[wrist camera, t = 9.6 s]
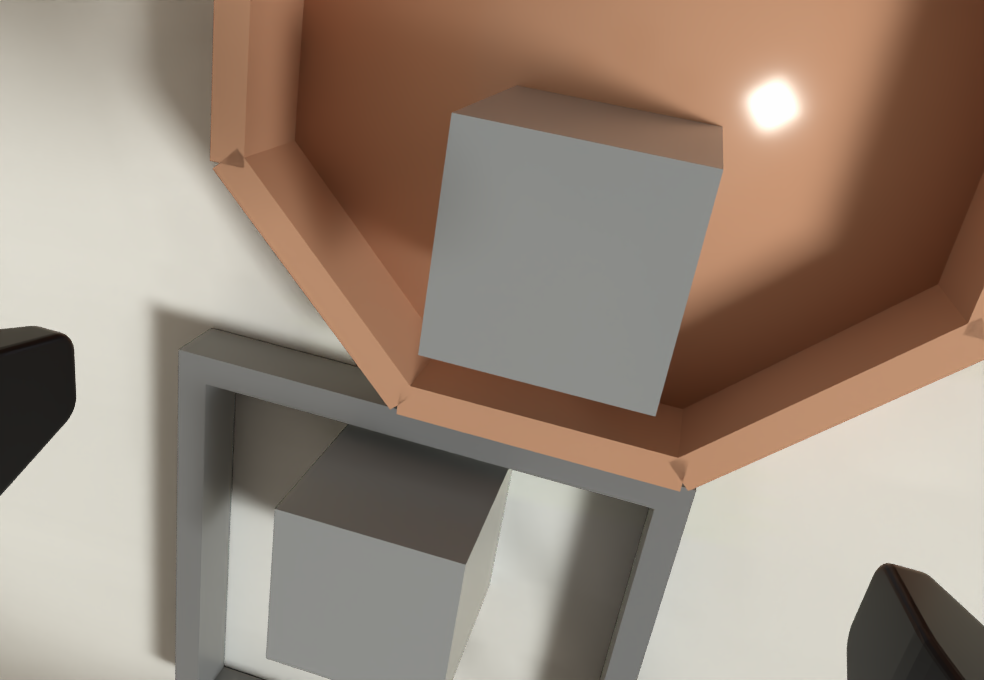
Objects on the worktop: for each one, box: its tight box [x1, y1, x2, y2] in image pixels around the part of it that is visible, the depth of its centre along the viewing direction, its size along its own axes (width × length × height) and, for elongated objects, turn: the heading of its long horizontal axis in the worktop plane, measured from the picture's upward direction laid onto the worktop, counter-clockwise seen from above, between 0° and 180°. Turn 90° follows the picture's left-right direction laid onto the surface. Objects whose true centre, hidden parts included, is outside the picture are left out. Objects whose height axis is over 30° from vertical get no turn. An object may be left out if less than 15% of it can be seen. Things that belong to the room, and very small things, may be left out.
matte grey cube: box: [266, 424, 512, 680], centre depth 22 cm, size 4×4×5 cm
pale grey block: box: [418, 85, 723, 416], centre depth 17 cm, size 4×4×5 cm
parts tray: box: [175, 328, 696, 680], centre depth 24 cm, size 13×14×2 cm
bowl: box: [210, 0, 984, 492], centre depth 17 cm, size 16×16×3 cm
